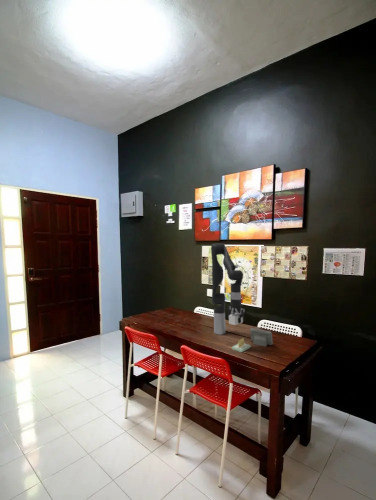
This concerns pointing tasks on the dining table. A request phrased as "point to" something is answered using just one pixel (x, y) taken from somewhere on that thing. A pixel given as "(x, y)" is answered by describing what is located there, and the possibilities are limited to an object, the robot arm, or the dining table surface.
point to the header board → (241, 346)
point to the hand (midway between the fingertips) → (236, 322)
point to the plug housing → (234, 319)
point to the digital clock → (261, 337)
